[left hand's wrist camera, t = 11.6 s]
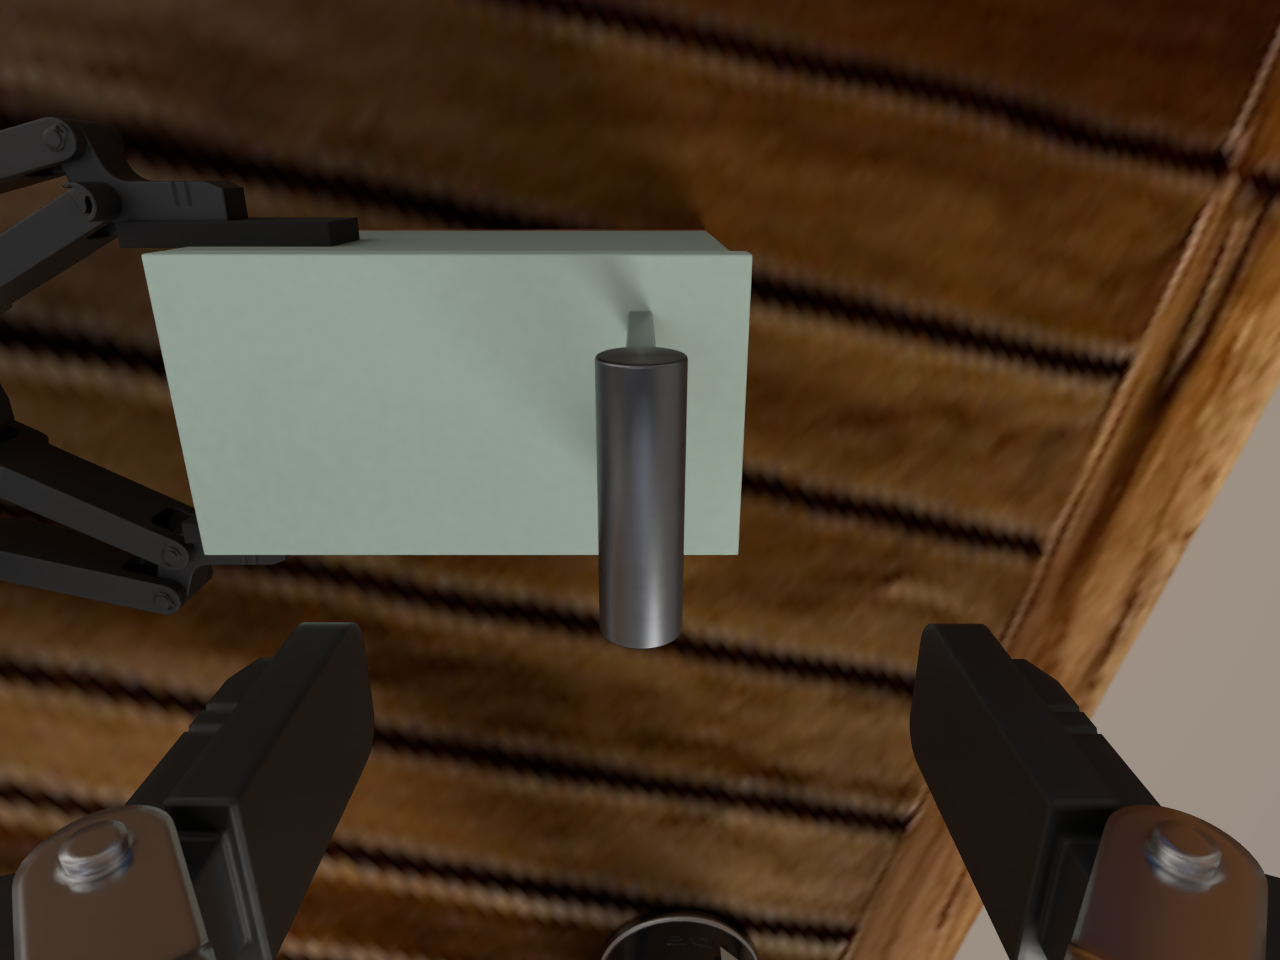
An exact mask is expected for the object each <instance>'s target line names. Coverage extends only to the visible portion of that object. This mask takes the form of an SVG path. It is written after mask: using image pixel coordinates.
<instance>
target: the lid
mask: <svg viewBox="0 0 1280 960" xmlns="http://www.w3.org/2000/svg"><path fill="white" fill-rule="evenodd" d="M142 261H143V266H144V271H145V275H146V280H147V285H148V290H149V294H150V299H151V304H152V309H153V313H154V318H155V323H156V328H157V332H158V337H159V342H160V347H161V351H162V356H163V361H164V365H165V370H166V375H167V380H168V384H169V389H170V394H171V399H172V403H173V408H174V413H175V418H176V422H177V427H178V432H179V437H180V441H181V446H182V451H183V455H184V460H185V465H186V470H187V474H188V479H189V484H190V489H191V493H192V498H193V503H194V508H195V512H196V517H197V522H198V527H199V531H200V536H201V541H202V545H203V550H204V554H205V555H598V557H599V607H600V630H601V632H602V634H603V636H604V637H605V638H606V639H607V640H609V641H610V642H612V643H614V644H616V645H619V646H622V647H625V648H631V649H651V648H657V647H661V646H664V645H666V644H668V643H670V642H672V641H674V640H675V639H676V638H677V637H678V636H679V634H680V632H681V630H682V611H683V565H684V555H737V554H738V545H739V524H740V504H741V483H742V462H743V441H744V421H745V400H746V379H747V358H748V338H749V317H750V296H751V275H752V255H751V254H750V253H749V252H747V251H158V252H152V253H146V254H142Z"/></svg>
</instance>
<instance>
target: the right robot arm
mask: <svg viewBox="0 0 1280 960" xmlns="http://www.w3.org/2000/svg"><path fill="white" fill-rule="evenodd" d="M123 152H124V141H123V137H122V136H121V134H120V132H119V131H118V130H117V129H116V128H115V127H114V126H112V125H111V124H108V123H106V122H100V121H90V120H80V119H70V118H59V117H45V118H41V119H38V120H35V121H31V122H28V123H24V124H21V125H18V126H14V127H11V128H7V129H4V130H1V131H0V194H2V193H5V192H8V191H12V190H15V189H19V188H22V187H26V186H29V185H33V184H36V183H40V182H43V181H47V180H50V179H54V178H57V177H61V176H64V175H66V176H67V178H68V180H69V181H70V182H67V183H64V184H61V185H62V186H63V187H64V188H71V189H70V190H68V191H67V192H65V193H63V194H62V195H60V196H59V197H57V198H56V199H54V200H53V201H51V202H50V203H48V204H46V205H45V206H43V207H42V208H40V209H39V210H37V211H36V212H34V213H33V214H31V215H29V216H28V217H26V218H25V219H23V220H22V221H20V222H19V223H17V224H16V225H14V226H12V227H11V228H9V229H8V230H6V231H5V232H3V233H2V234H0V315H1V314H2V313H4V312H6V311H7V310H9V309H10V308H11V307H12V303H13V302H15V301H16V300H18V299H19V298H21V297H23V296H24V295H26V294H27V293H29V292H31V291H32V290H34V289H35V288H37V287H39V286H40V285H42V284H43V283H45V282H47V281H48V280H50V279H51V278H53V277H55V276H56V275H58V274H59V273H61V272H63V271H64V270H66V269H67V268H69V267H71V266H72V265H74V264H75V263H77V262H79V261H80V260H82V259H83V258H85V257H87V256H88V255H90V254H91V253H93V252H95V251H96V250H98V249H99V248H101V247H102V246H104V245H106V244H107V243H109V242H110V241H112V240H114V239H115V238H117V237H118V239H119V243H120V248H184V247H332V246H337V245H341V244H345V243H349V242H354V241H358V240H360V237H359V228H358V220H357V218H248V214H247V208H246V202H245V196H244V189H243V187H240V186H238V185H235V184H233V183H230V182H228V181H150V180H147V179H144V178H142V177H140V176H139V175H137V174H136V173H135V172H134V171H133V170H132V169H131V167H130V166H129V164H128V163H127V161H126V159H125V157H124V155H123ZM0 498H2V499H4V500H7V501H9V502H11V503H14V504H16V505H18V506H21V507H23V508H25V509H28V510H30V511H32V512H35V513H37V514H40V515H42V516H44V517H47V518H49V519H51V520H54V521H56V522H58V523H61V524H63V525H65V526H68V527H70V528H72V529H68V528H64V527H59V526H55V525H50V524H45V523H41V522H36V521H31V520H26V519H20V518H11V517H0V580H2V581H7V582H11V583H16V584H21V585H26V586H30V587H35V588H40V589H45V590H49V591H54V592H59V593H64V594H69V595H73V596H78V597H83V598H88V599H92V600H97V601H102V602H107V603H111V604H116V605H121V606H126V607H131V608H135V609H140V610H145V611H150V612H154V613H159V614H168V615H169V614H172V613H175V612H176V611H177V610H178V609H179V608H180V607H181V606H182V605H184V604H185V603H186V602H187V601H188V600H189V599H190V598H191V597H192V596H193V595H194V594H196V593H197V592H198V591H199V590H200V589H201V588H202V587H203V586H204V585H205V584H206V583H207V582H208V581H209V580H210V579H211V578H212V575H213V571H212V567H211V565H245V564H247V565H256V564H258V565H273V564H276V563H279V562H281V561H284V560H286V559H287V558H288V557H289V556H290V555H205V554H204V550H203V545H202V541H201V536H200V531H199V527H198V522H197V517H196V512H195V508H193V507H191V506H188V505H186V504H184V503H182V502H179V501H177V500H175V499H173V498H170V497H168V496H166V495H164V494H161V493H159V492H157V491H154V490H152V489H150V488H148V487H145V486H143V485H141V484H139V483H136V482H134V481H132V480H130V479H127V478H125V477H123V476H121V475H118V474H116V473H114V472H111V471H109V470H107V469H105V468H102V467H100V466H98V465H96V464H93V463H91V462H89V461H87V460H84V459H82V458H80V457H78V456H75V455H73V454H71V453H68V452H66V451H64V450H62V449H59V448H57V447H55V446H53V445H51V444H50V443H49V442H48V437H47V436H46V435H45V434H43V433H42V432H40V431H37V430H35V429H33V428H31V427H28V426H26V425H24V424H22V423H19V422H17V421H15V420H14V416H13V412H12V409H11V405H10V402H9V398H8V397H7V395H6V393H5V391H4V390H3V388H2V386H1V384H0ZM73 529H75V530H73Z"/></svg>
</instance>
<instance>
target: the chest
mask: <svg viewBox="0 0 1280 960" xmlns="http://www.w3.org/2000/svg"><path fill="white" fill-rule="evenodd" d="M359 237H360V240H358V241H354V242H349V243H345V244H341V245H337V246H332V247H184V248H177V249H171V250H166V251H729V250H728V249H727V248H726V247H724V246H723V245H722V244H721V243H720V242H718V241H717V240H716V239H715V238H714V237H713V236H711V235H710V234H709V233H708V232H707V230H706V229H359Z"/></svg>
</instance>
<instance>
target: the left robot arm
mask: <svg viewBox="0 0 1280 960" xmlns="http://www.w3.org/2000/svg"><path fill="white" fill-rule="evenodd" d="M373 735H374V711H373V704H372V696H371V689H370V682H369V675H368V668H367V661H366V654H365V646H364V639H363V634H362V631H361V628H360V627H359V625H358V624H357V623H354V622H304V623H301V624H299V625H298V626H297V627H296V628H295V630H294V631H293V632H292V634H291V635H290V636H289V638H288V639H287V640H286V642H285V643H284V644H283V645H282V647H281V648H280V649H279V651H278V652H277V653H276V655H275V656H274V657H273V658H259V659H257V660H256V661H254V662H253V663H251V664H250V665H248V666H247V667H245V668H244V669H242V670H241V671H239V672H238V673H236V674H235V675H233V676H232V677H230V678H229V679H227V681H226V682H225V683H224V684H223V685H222V687H221V688H220V689H219V690H218V692H217V693H216V694H215V695H214V696H213V698H212V699H211V700H210V701H209V703H208V704H207V705H206V710H202V711H201V712H200V714H199V715H198V716H197V717H196V718H195V720H194V721H193V722H192V723H191V725H190V726H189V731H188V732H184V733H183V734H182V736H181V737H180V738H179V739H178V740H177V742H176V743H175V744H174V745H173V747H172V748H171V749H170V750H169V751H168V753H167V754H166V755H165V756H164V758H163V759H162V760H161V761H160V762H159V764H158V765H157V766H156V767H155V769H154V770H153V771H152V772H151V773H150V775H149V776H148V777H147V778H146V780H145V781H144V782H143V783H142V784H141V786H140V787H139V788H138V789H137V791H136V792H135V793H134V794H133V795H132V797H131V798H130V799H129V800H128V802H127V803H126V804H125V805H124V806H119V807H114V808H109V809H105V810H102V811H99V812H96V813H93V814H90V815H88V816H85V817H83V818H80V819H78V820H76V821H74V822H72V823H70V824H68V825H66V826H65V827H63V828H61V829H60V830H58V831H57V832H55V833H53V834H52V835H50V836H49V837H48V838H47V839H45V840H44V841H43V842H41V843H40V844H39V845H38V846H37V847H36V848H35V849H34V850H33V851H31V852H30V854H29V855H28V856H27V857H26V858H25V859H24V861H23V862H22V863H21V865H20V867H19V868H18V870H17V871H16V873H14V874H10V875H5V876H1V877H0V960H275V958H276V956H277V954H278V952H279V950H280V947H281V945H282V943H283V941H284V939H285V937H286V934H287V932H288V930H289V928H290V926H291V924H292V922H293V919H294V917H295V915H296V913H297V911H298V909H299V907H300V904H301V902H302V900H303V898H304V896H305V894H306V891H307V889H308V887H309V885H310V883H311V881H312V879H313V876H314V874H315V872H316V870H317V868H318V866H319V864H320V861H321V859H322V857H323V855H324V853H325V851H326V849H327V846H328V844H329V842H330V840H331V838H332V836H333V833H334V831H335V829H336V827H337V825H338V823H339V821H340V818H341V816H342V814H343V812H344V810H345V808H346V806H347V803H348V801H349V799H350V797H351V795H352V793H353V791H354V788H355V786H356V784H357V782H358V780H359V778H360V775H361V773H362V771H363V769H364V767H365V765H366V763H367V760H368V758H369V755H370V751H371V747H372V742H373ZM910 736H911V743H912V749H913V753H914V756H915V759H916V762H917V764H918V766H919V768H920V770H921V772H922V775H923V777H924V779H925V781H926V783H927V785H928V787H929V789H930V792H931V794H932V796H933V798H934V800H935V802H936V804H937V806H938V809H939V811H940V813H941V815H942V817H943V819H944V821H945V823H946V825H947V828H948V830H949V832H950V834H951V836H952V838H953V840H954V842H955V845H956V847H957V849H958V851H959V853H960V855H961V857H962V859H963V862H964V864H965V866H966V868H967V870H968V872H969V874H970V876H971V879H972V881H973V883H974V885H975V887H976V889H977V891H978V893H979V896H980V898H981V900H982V902H983V904H984V906H985V908H986V910H987V912H988V915H989V917H990V919H991V921H992V923H993V925H994V927H995V929H996V932H997V934H998V936H999V938H1000V940H1001V942H1002V944H1003V946H1004V949H1005V951H1006V953H1007V955H1008V957H1009V959H1010V960H1280V878H1278V877H1274V876H1270V875H1266V874H1264V871H1263V870H1262V868H1261V867H1260V865H1259V863H1258V862H1257V861H1256V859H1255V858H1254V857H1253V856H1252V855H1251V854H1250V852H1249V851H1247V850H1246V849H1245V848H1244V847H1243V846H1242V845H1241V844H1240V843H1239V842H1237V841H1236V840H1235V839H1233V838H1232V837H1231V836H1230V835H1228V834H1227V833H1225V832H1223V831H1222V830H1220V829H1219V828H1217V827H1215V826H1213V825H1212V824H1210V823H1208V822H1206V821H1204V820H1202V819H1199V818H1197V817H1195V816H1192V815H1190V814H1187V813H1184V812H1181V811H1178V810H1174V809H1171V808H1166V807H1161V806H1160V804H1159V803H1158V802H1157V801H1156V800H1155V798H1154V797H1153V796H1152V795H1151V794H1150V792H1149V791H1148V790H1147V789H1146V788H1145V786H1144V785H1143V784H1142V783H1141V781H1140V780H1139V779H1138V778H1137V777H1136V775H1135V774H1134V773H1133V772H1132V770H1131V769H1130V768H1129V767H1128V766H1127V764H1126V763H1125V762H1124V761H1123V760H1122V758H1121V757H1120V756H1119V755H1118V754H1117V752H1116V751H1115V750H1114V749H1113V747H1112V746H1111V745H1110V744H1109V743H1108V741H1107V740H1106V739H1105V738H1104V737H1103V735H1102V734H1097V728H1096V727H1095V726H1094V724H1093V723H1092V722H1091V721H1090V720H1089V718H1088V717H1087V716H1086V715H1085V714H1084V712H1080V711H1079V706H1078V705H1077V704H1076V703H1075V701H1074V700H1073V699H1072V698H1071V697H1070V695H1069V694H1068V693H1067V692H1066V691H1065V689H1064V688H1063V687H1062V686H1061V684H1060V683H1059V682H1058V681H1057V680H1055V679H1054V678H1052V677H1051V676H1049V675H1048V674H1046V673H1045V672H1043V671H1042V670H1040V669H1039V668H1037V667H1036V666H1034V665H1033V664H1031V663H1030V662H1028V661H1027V660H1025V659H1011V658H1010V656H1009V655H1008V654H1007V652H1006V651H1005V650H1004V648H1003V647H1002V646H1001V645H1000V643H999V642H998V641H997V639H996V638H995V637H994V635H993V634H992V633H991V631H990V630H989V629H988V628H987V627H986V626H985V625H983V624H928V625H927V626H926V627H925V628H924V630H923V633H922V637H921V642H920V649H919V656H918V663H917V670H916V677H915V684H914V692H913V699H912V706H911V713H910ZM599 960H759V958H758V954H757V952H756V949H755V947H754V945H753V943H752V942H751V940H750V939H749V938H748V937H747V936H746V934H745V933H744V932H743V931H741V930H740V929H739V928H738V927H736V926H735V925H734V924H732V923H730V922H729V921H727V920H725V919H723V918H720V917H718V916H715V915H712V914H709V913H705V912H700V911H693V910H667V911H660V912H655V913H652V914H648V915H645V916H642V917H640V918H637V919H635V920H633V921H631V922H629V923H628V924H626V925H625V926H623V927H622V928H620V929H619V930H618V931H617V932H616V933H615V934H614V935H613V936H612V937H611V938H610V939H609V940H608V942H607V943H606V945H605V946H604V948H603V950H602V953H601V956H600V959H599Z"/></svg>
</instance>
